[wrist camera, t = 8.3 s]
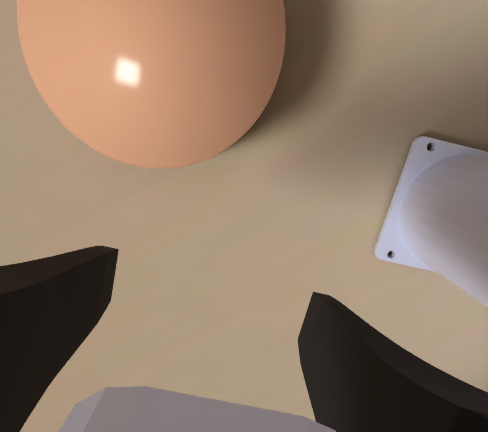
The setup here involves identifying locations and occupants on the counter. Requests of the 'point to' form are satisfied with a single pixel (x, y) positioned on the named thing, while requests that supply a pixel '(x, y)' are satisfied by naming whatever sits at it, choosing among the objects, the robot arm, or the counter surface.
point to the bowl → (154, 72)
